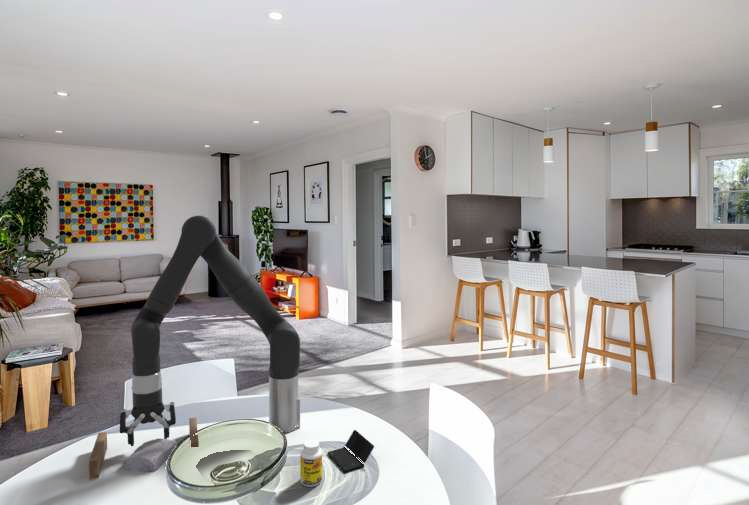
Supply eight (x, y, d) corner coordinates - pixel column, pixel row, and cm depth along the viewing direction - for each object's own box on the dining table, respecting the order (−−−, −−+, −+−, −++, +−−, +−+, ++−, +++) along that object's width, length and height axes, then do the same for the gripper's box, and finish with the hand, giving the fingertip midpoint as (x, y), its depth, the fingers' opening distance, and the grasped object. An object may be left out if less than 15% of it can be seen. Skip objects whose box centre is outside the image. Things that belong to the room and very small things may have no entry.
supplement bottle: (301, 489, 111) (301, 450, 110) (299, 476, 117) (299, 439, 116) (323, 486, 112) (323, 447, 112) (320, 474, 118) (321, 436, 117)
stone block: (122, 477, 118) (157, 472, 117) (118, 460, 118) (154, 454, 117) (148, 455, 130) (180, 450, 129) (145, 439, 130) (177, 434, 129)
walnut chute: (196, 432, 139) (196, 417, 138) (198, 458, 124) (198, 441, 124) (99, 449, 128) (98, 432, 128) (89, 480, 113) (88, 461, 113)
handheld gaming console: (321, 452, 126) (341, 420, 128) (336, 459, 130) (355, 428, 133) (345, 476, 117) (366, 442, 120) (360, 482, 122) (380, 449, 124)
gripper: (174, 379, 133) (176, 431, 134) (120, 386, 127) (122, 440, 129) (174, 388, 126) (176, 443, 128) (116, 396, 120) (119, 453, 122)
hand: (149, 441), depth 128 cm, fingers open, 8 cm apart
